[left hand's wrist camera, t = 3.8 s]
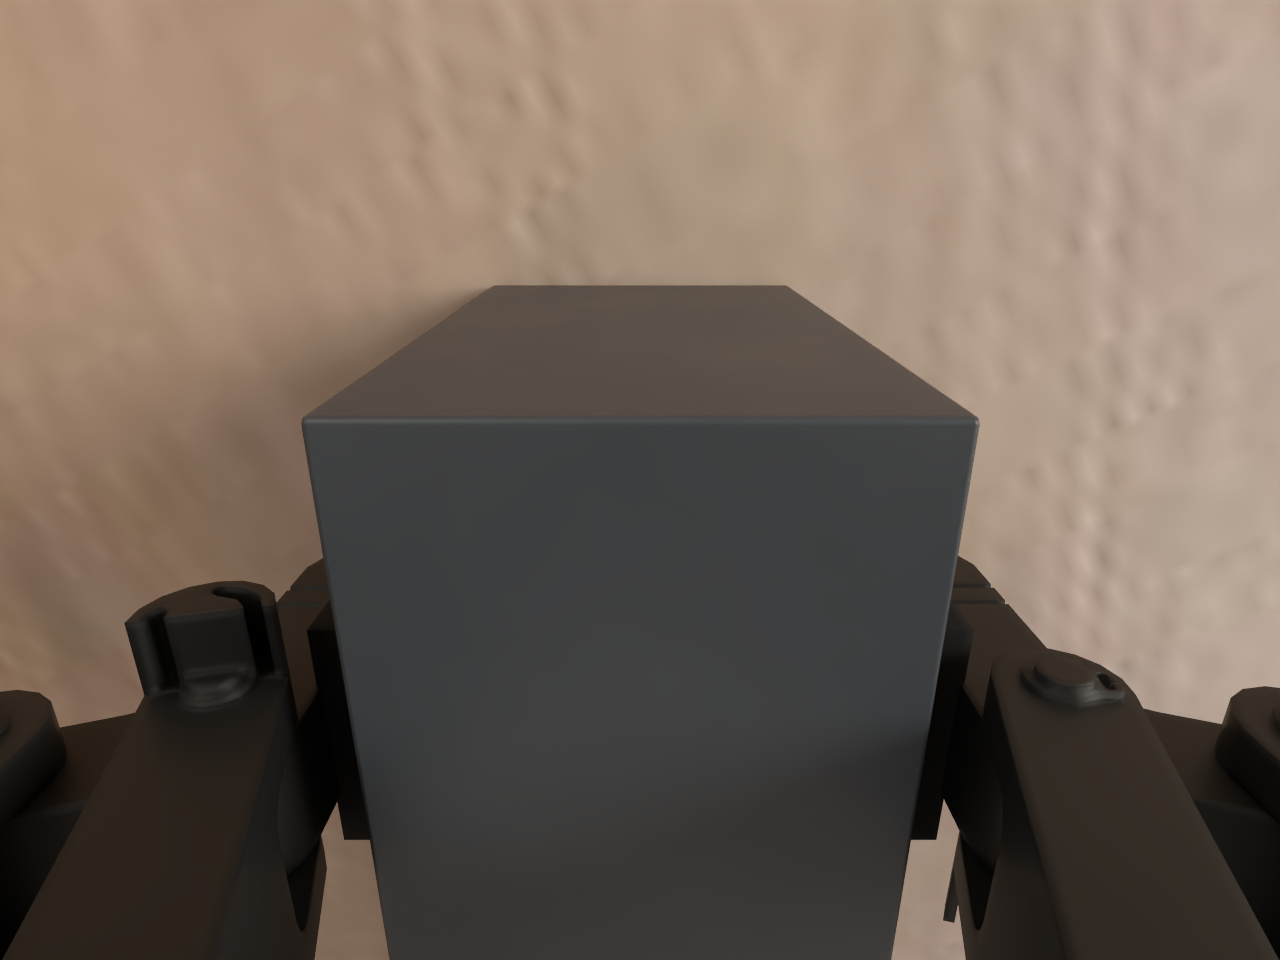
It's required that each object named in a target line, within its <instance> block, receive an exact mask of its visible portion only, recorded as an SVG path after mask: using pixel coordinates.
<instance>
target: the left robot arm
mask: <svg viewBox="0 0 1280 960" xmlns="http://www.w3.org/2000/svg"><path fill="white" fill-rule="evenodd" d="M125 627H126V630H127V634H128V638H129V641H130V645H131V648H132V652H133V656H134V659H135V663H136V666H137V670H138V674H139V677H140V681H141V684H142V688H143V692H144V695H145V696H144V698H143V700H142V701H141V703H140V705H139V707H138V709H137V711H136V713H132V714H128V715H124V716H119V717H113V718H108V719H103V720H98V721H93V722H87V723H82V724H77V725H72V726H66V727H61V728H60V727H59V724H58V721H57V718H56V715H55V712H54V709H53V706H52V703H51V701H50V700H48V699H47V698H46V697H44V696H43V695H42V694H40V693H37V692H29V691H21V690H13V691H4V692H0V960H314V958H315V951H316V944H317V936H318V929H319V922H320V914H321V907H322V900H323V893H324V885H325V878H326V871H327V867H326V859H325V852H324V847H323V842H322V837H321V834H322V832H323V829H324V827H325V825H326V823H327V821H328V819H329V817H330V815H331V813H332V811H333V809H334V807H335V805H336V803H337V802H338V807H339V813H340V818H341V824H342V829H343V835H344V840H370V837H369V831H368V825H367V819H366V813H365V807H364V801H363V795H362V789H361V782H360V776H359V770H358V764H357V758H356V752H355V746H354V740H353V734H352V728H351V722H350V716H349V710H348V704H347V698H346V692H345V685H344V679H343V673H342V667H341V661H340V655H339V649H338V643H337V637H336V631H335V625H334V619H333V613H332V607H331V601H330V595H329V588H328V582H327V576H326V570H325V564H324V558H323V559H321V560H319V561H318V562H316V563H314V564H312V565H311V566H309V567H307V568H306V570H305V571H304V572H303V573H302V574H301V575H300V576H299V578H298V579H297V580H296V581H295V582H294V583H293V585H292V586H291V589H290V591H286V593H285V594H284V595H283V596H282V597H281V598H280V599H279V601H278V602H277V603H276V600H275V594H274V592H272V591H271V590H269V589H268V588H267V587H265V586H264V585H261V584H256V583H251V582H246V581H226V582H214V583H208V584H203V585H198V586H193V587H188V588H185V589H183V590H180V591H177V592H174V593H171V594H168V595H165V596H162V597H160V598H158V599H157V600H155V601H153V602H151V603H149V604H147V605H146V606H144V607H142V608H140V609H139V610H138V611H137V612H135V613H134V614H133V615H132V616H131V617H130V618H129V619H128V620H127V621H126V622H125ZM943 799H944V800H945V802H946V804H947V806H948V808H949V810H950V812H951V814H952V816H953V818H954V820H955V822H956V824H957V826H958V828H959V830H960V831H959V837H958V842H957V847H956V852H955V857H954V862H953V867H952V873H951V878H950V883H949V888H948V893H947V898H946V904H945V911H944V918H943V920H944V921H949V922H953V923H954V920H955V915H956V911H957V906H958V905H959V913H960V920H961V927H962V934H963V942H964V949H965V956H966V960H1280V688H1274V687H1266V686H1264V687H1256V688H1248V689H1242V690H1241V691H1240V692H1238V693H1237V694H1235V695H1234V696H1233V697H1231V699H1230V702H1229V705H1228V708H1227V711H1226V714H1225V717H1224V720H1223V723H1222V724H1217V723H1212V722H1207V721H1202V720H1196V719H1191V718H1186V717H1181V716H1175V715H1170V714H1165V713H1160V712H1155V711H1151V710H1147V709H1143V707H1142V706H1141V704H1140V702H1139V700H1138V698H1137V696H1136V695H1135V693H1134V692H1133V691H1132V690H1131V689H1130V688H1129V687H1128V685H1127V684H1126V683H1125V682H1124V681H1123V680H1122V679H1121V678H1120V677H1118V676H1117V675H1115V674H1113V673H1112V672H1110V671H1109V670H1107V669H1106V668H1104V667H1103V666H1101V665H1099V664H1097V663H1094V662H1092V661H1089V660H1087V659H1084V658H1082V657H1079V656H1077V655H1074V654H1070V653H1066V652H1061V651H1057V650H1052V649H1048V648H1046V647H1045V646H1044V644H1043V643H1042V642H1041V641H1040V640H1039V639H1038V638H1037V636H1036V635H1035V634H1034V633H1033V632H1032V631H1031V630H1030V628H1029V627H1028V626H1027V625H1026V624H1025V623H1024V622H1023V620H1022V619H1021V618H1020V617H1019V616H1018V615H1017V614H1016V613H1015V611H1014V610H1013V609H1012V608H1011V607H1010V606H1009V605H1008V604H1005V600H1004V599H1003V598H1002V597H1001V595H1000V594H999V593H998V592H997V591H996V590H995V589H994V588H991V584H990V583H989V582H988V581H987V579H986V578H985V577H984V576H983V575H982V574H981V573H980V571H979V570H978V569H977V568H976V567H975V566H974V565H973V564H971V563H970V562H968V561H966V560H965V559H963V558H961V557H959V556H958V557H957V563H956V569H955V575H954V582H953V588H952V594H951V600H950V606H949V612H948V618H947V624H946V630H945V636H944V642H943V648H942V654H941V660H940V666H939V672H938V678H937V684H936V690H935V696H934V703H933V709H932V715H931V721H930V727H929V733H928V739H927V745H926V751H925V757H924V763H923V769H922V775H921V781H920V787H919V793H918V799H917V805H916V811H915V817H914V823H913V830H912V836H911V840H936V838H937V832H938V827H939V821H940V816H941V810H942V805H943Z"/></svg>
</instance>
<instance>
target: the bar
mask: <svg viewBox="0 0 1280 960" xmlns="http://www.w3.org/2000/svg"><path fill="white" fill-rule="evenodd" d="M978 430H979V420H978V417H976V416H975V415H973V414H972V413H970V412H969V411H968V410H966V409H965V408H963V407H962V406H960V405H959V404H957V403H956V402H955V401H953V400H952V399H950V398H949V397H947V396H946V395H944V394H943V393H941V392H940V391H939V390H937V389H936V388H934V387H933V386H931V385H930V384H928V383H927V382H926V381H924V380H923V379H921V378H920V377H918V376H917V375H915V374H914V373H912V372H911V371H910V370H908V369H907V368H905V367H904V366H902V365H901V364H899V363H898V362H897V361H895V360H894V359H892V358H891V357H889V356H888V355H886V354H885V353H883V352H882V351H881V350H879V349H878V348H876V347H875V346H873V345H872V344H870V343H869V342H868V341H866V340H865V339H863V338H862V337H860V336H859V335H857V334H856V333H854V332H853V331H852V330H850V329H849V328H847V327H846V326H844V325H843V324H841V323H840V322H839V321H837V320H836V319H834V318H833V317H831V316H830V315H828V314H827V313H825V312H824V311H823V310H821V309H820V308H818V307H817V306H815V305H814V304H812V303H811V302H810V301H808V300H807V299H805V298H804V297H802V296H801V295H799V294H798V293H796V292H795V291H794V290H792V289H791V288H789V287H787V286H493V287H491V288H490V289H488V290H487V291H485V292H484V293H483V294H481V295H480V296H478V297H477V298H475V299H474V300H472V301H471V302H470V303H468V304H467V305H465V306H464V307H462V308H461V309H459V310H458V311H457V312H455V313H454V314H452V315H451V316H449V317H448V318H446V319H445V320H443V321H442V322H441V323H439V324H438V325H436V326H435V327H433V328H432V329H430V330H429V331H428V332H426V333H425V334H423V335H422V336H420V337H419V338H417V339H416V340H415V341H413V342H412V343H410V344H409V345H407V346H406V347H404V348H403V349H402V350H400V351H399V352H397V353H396V354H394V355H393V356H391V357H390V358H389V359H387V360H386V361H384V362H383V363H381V364H380V365H378V366H377V367H376V368H374V369H373V370H371V371H370V372H368V373H367V374H365V375H364V376H363V377H361V378H360V379H358V380H357V381H355V382H354V383H352V384H351V385H349V386H348V387H347V388H345V389H344V390H342V391H341V392H339V393H338V394H336V395H335V396H334V397H332V398H331V399H329V400H328V401H326V402H325V403H323V404H322V405H321V406H319V407H318V408H316V409H315V410H313V411H312V412H310V413H309V414H308V415H306V416H305V417H303V419H302V431H303V437H304V443H305V449H306V455H307V461H308V467H309V473H310V479H311V485H312V491H313V497H314V504H315V510H316V516H317V522H318V528H319V534H320V540H321V546H322V552H323V558H324V564H325V570H326V576H327V582H328V588H329V595H330V601H331V607H332V613H333V619H334V625H335V631H336V637H337V643H338V649H339V655H340V661H341V667H342V673H343V679H344V685H345V692H346V698H347V704H348V710H349V716H350V722H351V728H352V734H353V740H354V746H355V752H356V758H357V764H358V770H359V776H360V782H361V789H362V795H363V801H364V807H365V813H366V819H367V825H368V831H369V837H370V843H371V849H372V855H373V861H374V867H375V873H376V880H377V886H378V892H379V898H380V904H381V910H382V916H383V922H384V928H385V934H386V940H387V946H388V952H389V958H390V960H891V957H892V950H893V944H894V938H895V932H896V926H897V920H898V914H899V908H900V902H901V896H902V890H903V884H904V878H905V872H906V866H907V860H908V854H909V848H910V842H911V836H912V830H913V823H914V817H915V811H916V805H917V799H918V793H919V787H920V781H921V775H922V769H923V763H924V757H925V751H926V745H927V739H928V733H929V727H930V721H931V715H932V709H933V703H934V696H935V690H936V684H937V678H938V672H939V666H940V660H941V654H942V648H943V642H944V636H945V630H946V624H947V618H948V612H949V606H950V600H951V594H952V588H953V582H954V575H955V569H956V563H957V557H958V551H959V545H960V539H961V533H962V527H963V521H964V515H965V509H966V503H967V497H968V491H969V485H970V479H971V473H972V467H973V461H974V455H975V448H976V442H977V436H978Z"/></svg>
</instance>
